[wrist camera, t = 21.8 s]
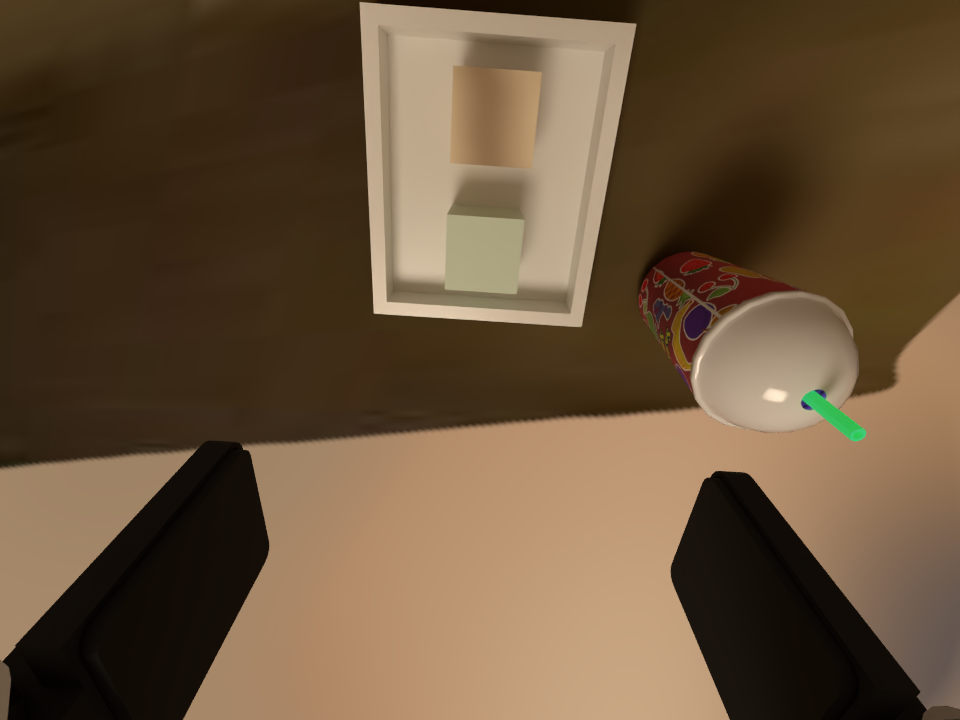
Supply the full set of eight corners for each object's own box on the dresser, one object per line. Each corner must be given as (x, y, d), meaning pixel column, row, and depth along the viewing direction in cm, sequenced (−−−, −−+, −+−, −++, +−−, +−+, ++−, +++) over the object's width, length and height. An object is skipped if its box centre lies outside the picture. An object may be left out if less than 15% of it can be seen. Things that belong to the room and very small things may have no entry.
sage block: (519, 208, 33) (524, 219, 28) (512, 274, 35) (516, 294, 31) (452, 203, 33) (447, 214, 28) (450, 270, 35) (444, 289, 30)
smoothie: (602, 305, 37) (711, 461, 19) (670, 216, 34) (877, 304, 16) (679, 351, 39) (843, 533, 21) (749, 271, 35) (1017, 406, 18)
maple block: (533, 82, 29) (542, 72, 25) (525, 164, 31) (531, 168, 27) (458, 76, 29) (453, 65, 25) (455, 159, 31) (450, 163, 27)
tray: (620, 36, 29) (636, 23, 26) (573, 311, 37) (581, 327, 34) (373, 17, 28) (359, 2, 25) (383, 298, 37) (373, 313, 34)
